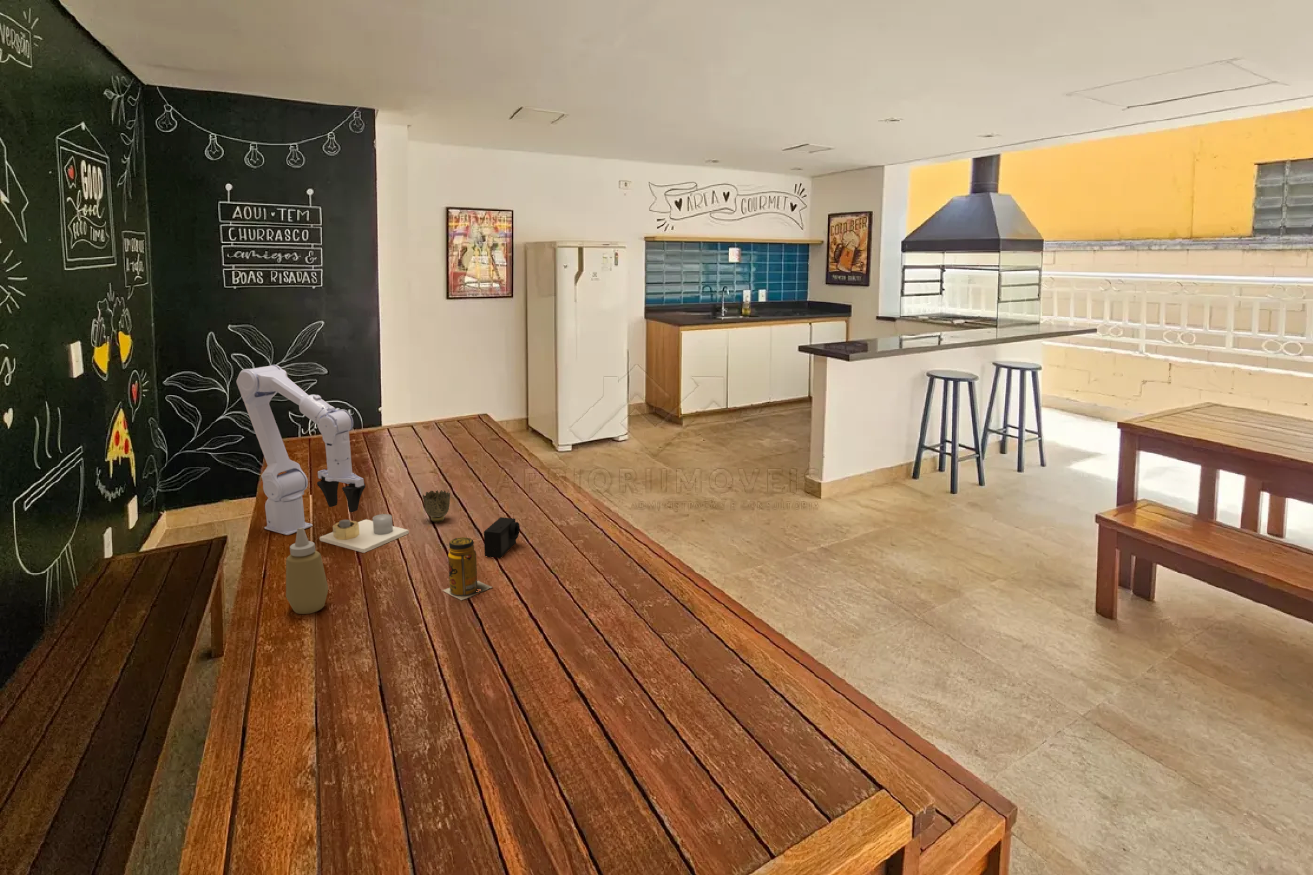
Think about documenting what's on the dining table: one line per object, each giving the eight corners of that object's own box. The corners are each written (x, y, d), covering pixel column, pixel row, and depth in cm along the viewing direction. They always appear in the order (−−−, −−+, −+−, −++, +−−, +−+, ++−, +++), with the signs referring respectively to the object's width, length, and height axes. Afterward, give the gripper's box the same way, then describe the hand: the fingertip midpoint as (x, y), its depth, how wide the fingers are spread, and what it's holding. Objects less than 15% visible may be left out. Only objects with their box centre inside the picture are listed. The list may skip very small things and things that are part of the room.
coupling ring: (331, 534, 188) (330, 524, 187) (353, 529, 191) (352, 519, 191) (339, 541, 184) (338, 530, 183) (362, 536, 187) (361, 525, 187)
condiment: (441, 590, 160) (439, 541, 157) (473, 578, 167) (471, 530, 164) (461, 601, 156) (458, 550, 153) (492, 588, 162) (491, 539, 159)
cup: (443, 526, 198) (442, 499, 196) (419, 524, 199) (417, 496, 197) (456, 517, 205) (454, 490, 203) (432, 515, 206) (430, 488, 204)
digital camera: (505, 559, 178) (504, 533, 176) (484, 557, 179) (483, 531, 177) (520, 543, 188) (519, 518, 186) (501, 541, 189) (500, 516, 187)
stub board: (319, 540, 186) (318, 522, 185) (366, 522, 199) (364, 505, 198) (363, 552, 179) (362, 534, 178) (408, 533, 192) (407, 515, 191)
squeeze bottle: (316, 595, 157) (308, 518, 152) (337, 606, 152) (330, 527, 148) (280, 610, 150) (270, 529, 146) (301, 621, 146) (291, 539, 141)
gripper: (305, 457, 182) (310, 508, 185) (345, 466, 176) (350, 518, 179) (329, 451, 188) (333, 500, 191) (368, 459, 182) (372, 509, 185)
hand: (343, 508), depth 185 cm, fingers open, 7 cm apart
